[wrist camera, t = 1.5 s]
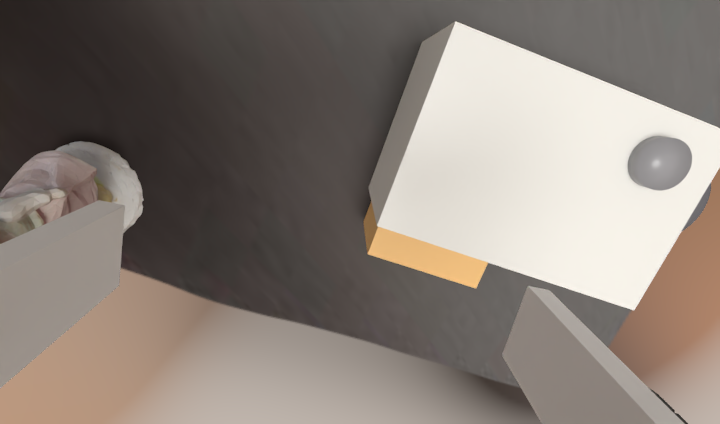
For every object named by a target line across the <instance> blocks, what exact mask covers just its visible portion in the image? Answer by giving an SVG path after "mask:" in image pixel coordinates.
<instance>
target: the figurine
mask: <svg viewBox="0 0 720 424" xmlns="http://www.w3.org/2000/svg"><path fill="white" fill-rule="evenodd" d="M98 200H101V201H106V202H111V203H116V204H121V205H125V211H124V225H123V233H124V232H125V231H126V230H127V229H128V228H129V227H130V226H132V225H133V224H134V223H135V222H136V220H137V218H138V217H140V216H141V214H142V210H143V206H142V201H144V199H143V195H142V188H141V184H140V181H139V180H138V177H137V175H136V172H135V171H134V170H132V169H131V168H130V167H129V164H128V162H127V161H126V160H125V159H123V158H121V157H120V155H119V154H118V153H115V152H114V151H112V150H110V149H108V148H106V147H104V146H101V145H98V144H95V143H91V142H83V141H78V142H72V143H69V145H68V144H67V145H63V146H61V147H59V148H57V149H56V150H55V151H46V152H42V153H39V154H37V155H35V156H33V157H32V158H31V159H30V160H29V161H28V162H26V163H25V164H24V165H23V166H22V167H21V168H20V169H19V171H18V172H17V173H16V174H15V175H14V176H13V177H12V179H11V180H10V181H9V182H8V184H7V185H6V186H5V187H4V189H3V190H2V192H1V193H0V244H2V243H4V242H6V241H9V240H11V239H13V238H15V237H18V236H20V235H22V234H24V233H27V232H29V231H31V230H33V229H36V228H38V227H40V226H42V225H44V224H47V223H49V222H51V221H53V220H56V219H58V218H60V217H62V216H65V215H67V214H69V213H71V212H74V211H76V210H78V209H80V208H83V207H85V206H87V205H89V204H92V203H94V202H96V201H98Z"/></svg>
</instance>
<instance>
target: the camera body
mask: <svg viewBox="0 0 720 424" xmlns="http://www.w3.org/2000/svg"><path fill="white" fill-rule="evenodd" d="M719 168H720V128H718V127H715V126H713V125H710V124H708V123H705V122H703V121H701V120H698V119H696V118H693V117H691V116H688V115H686V114H683V113H681V112H678V111H676V110H673V109H671V108H668V107H666V106H663V105H661V104H659V103H656V102H654V101H651V100H649V99H646V98H644V97H641V96H639V95H636V94H634V93H631V92H629V91H626V90H624V89H621V88H619V87H616V86H614V85H612V84H609V83H607V82H604V81H602V80H599V79H597V78H594V77H592V76H589V75H587V74H584V73H582V72H579V71H577V70H574V69H572V68H570V67H567V66H565V65H562V64H560V63H557V62H555V61H552V60H550V59H547V58H545V57H542V56H540V55H537V54H535V53H532V52H530V51H528V50H525V49H523V48H520V47H518V46H515V45H513V44H510V43H508V42H505V41H503V40H500V39H498V38H495V37H493V36H490V35H488V34H485V33H483V32H481V31H478V30H476V29H473V28H471V27H468V26H466V25H463V24H461V23H458V22H456V21H455V22H454V23H452V24H450V25H449V26H447V27H446V28H444V29H442V30H441V31H439V32H437V33H436V34H434V35H433V36H431V37H429V38H428V39H426V40H424V41H423V42H422V43H421V46H420V49H419V51H418V54H417V57H416V60H415V62H414V65H413V68H412V70H411V73H410V76H409V79H408V81H407V84H406V87H405V89H404V92H403V95H402V98H401V100H400V103H399V106H398V108H397V111H396V114H395V117H394V119H393V122H392V125H391V127H390V130H389V133H388V136H387V138H386V141H385V144H384V146H383V149H382V152H381V155H380V157H379V160H378V163H377V166H376V168H375V171H374V174H373V176H372V179H371V182H370V185H369V187H368V189H369V193H370V198H371V202H372V207H373V211H374V215H375V220H376V224H377V226H378V227H381V228H384V229H387V230H391V231H394V232H397V233H400V234H403V235H406V236H409V237H412V238H415V239H418V240H421V241H424V242H427V243H430V244H433V245H436V246H439V247H442V248H445V249H448V250H451V251H455V252H458V253H461V254H464V255H467V256H470V257H473V258H476V259H479V260H482V261H485V262H488V263H491V264H494V265H497V266H500V267H503V268H506V269H509V270H512V271H515V272H518V273H522V274H525V275H528V276H531V277H534V278H537V279H540V280H543V281H546V282H549V283H552V284H555V285H558V286H561V287H564V288H567V289H570V290H573V291H576V292H579V293H582V294H586V295H589V296H592V297H595V298H598V299H601V300H604V301H607V302H610V303H613V304H616V305H619V306H622V307H625V308H628V309H631V310H635V308H636V306H637V305H638V303H639V301H640V300H641V298H642V296H643V295H644V293H645V291H646V290H647V288H648V286H649V285H650V283H651V281H652V279H653V278H654V276H655V275H656V273H657V271H658V269H659V268H660V266H661V265H662V263H663V261H664V260H665V258H666V256H667V255H668V253H669V251H670V250H671V248H672V246H673V245H674V243H675V241H676V239H677V238H678V236H679V234H680V232H681V231H683V230H684V229H686V228H687V227H688V226H690V225H691V224H692V223H693V222H694V221H695V220H696V219H697V218H698V217H699V215H700V214H701V213H702V211H703V209H704V208H705V206H706V204H707V201H708V199H709V195H710V191H711V181H712V179H713V178H714V176H715V174H716V173H717V171H718V169H719Z"/></svg>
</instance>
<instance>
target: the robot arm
mask: <svg viewBox="0 0 720 424" xmlns="http://www.w3.org/2000/svg"><path fill="white" fill-rule="evenodd" d="M124 211H125V205H121V204H116V203H111V202H106V201H101V200H98V201H96V202H94V203H92V204H89V205H87V206H85V207H83V208H80V209H78V210H76V211H74V212H71V213H69V214H67V215H65V216H62V217H60V218H58V219H56V220H53V221H51V222H49V223H47V224H44V225H42V226H40V227H38V228H36V229H33V230H31V231H29V232H27V233H24V234H22V235H20V236H18V237H15V238H13V239H11V240H9V241H6V242H4V243H2V244H0V388H1V387H2V386H3V385H4V384H6V383H7V382H8V381H9V380H10V379H11V378H12V377H14V376H15V375H16V374H17V373H18V372H20V371H21V370H22V369H23V368H24V367H25V366H27V365H28V364H29V363H30V362H31V361H32V360H34V359H35V358H36V357H37V356H38V355H39V354H40V353H42V352H43V351H44V350H45V349H46V348H47V347H49V346H50V345H51V344H52V343H53V342H54V341H56V340H57V339H58V338H59V337H60V336H61V335H62V334H64V333H65V332H66V331H67V330H68V329H69V328H70V327H72V326H73V325H74V324H75V323H76V322H78V321H79V320H80V319H81V318H82V317H83V316H85V315H86V314H87V313H88V312H89V311H90V310H91V309H92V308H94V307H95V306H96V305H97V304H98V303H100V302H101V301H102V300H103V299H104V298H105V297H106V296H108V295H109V294H110V293H111V292H112V291H113V290H115V289H116V288H117V287H118V286H119V280H120V279H119V278H120V266H121V252H122V239H123V225H124ZM502 356H503V358H504V360H505V361H506V363H507V365H508V366H509V368H510V370H511V372H512V373H513V375H514V377H515V378H516V380H517V382H518V383H519V385H520V387H521V389H522V390H523V392H524V394H525V395H526V397H527V399H528V400H529V402H530V404H531V405H532V407H533V409H534V411H535V412H536V414H537V416H538V418H539V419H540V421H541V423H542V424H688V423H687V422H686V421H685V420H684V419H683V418H682V417H681V416H680V415H679V414H676V413H675V412H674V409H672V408H671V407H670V406H669V405H668V404H667V403H666V402H665V401H664V400H663V399H662V398H661V397H660V396H659V395H658V394H657V393H655V392H654V391H653V390H651V389H649V388H648V387H647V386H646V385H645V384H644V383H643V382H642V381H641V380H640V379H639V378H638V377H637V376H636V375H635V374H634V373H633V372H632V371H630V369H629V368H628V367H627V366H625V364H624V363H623V362H622V361H620V359H619V358H618V357H616V356H615V355H614V354H613V353H612V352H611V351H610V350H609V349H608V348H607V347H606V346H605V345H604V344H603V343H602V342H601V341H600V340H599V339H598V338H597V337H596V336H595V335H594V334H593V333H592V332H591V331H590V330H589V329H588V328H587V327H586V326H585V325H584V324H583V323H582V322H581V321H580V320H579V319H578V318H577V317H576V316H575V315H574V314H573V313H572V312H571V311H570V310H569V309H568V308H567V307H566V306H565V305H564V304H563V303H562V302H561V301H560V300H559V299H558V298H557V297H556V296H555V295H554V294H553V293H552V292H551V291H550V290H546V289H541V288H536V287H531V286H528V287H527V290H526V292H525V295H524V298H523V300H522V303H521V306H520V308H519V311H518V314H517V316H516V319H515V322H514V324H513V327H512V330H511V333H510V335H509V338H508V341H507V343H506V346H505V349H504V351H503V354H502Z"/></svg>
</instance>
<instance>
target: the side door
mask: <svg viewBox="0 0 720 424" xmlns="http://www.w3.org/2000/svg"><path fill="white" fill-rule="evenodd" d="M363 223H364V230H365V238H366V245H367V253H368V254H369V255H372V256H375V257H378V258H382V259H385V260H388V261H391V262H394V263H397V264H400V265H404V266H407V267H410V268H413V269H416V270H419V271H422V272H426V273H429V274H432V275H435V276H438V277H441V278H444V279H448V280H451V281H454V282H457V283H460V284H463V285H466V286H470V287H473V288H476V287H477V285H478V283H479V281H480V279H481V277H482V274H483V272H484V270H485V268H486V266H487V264H488V262H485V261H482V260H479V259H476V258H473V257H470V256H467V255H464V254H461V253H458V252H455V251H451V250H448V249H445V248H442V247H439V246H436V245H433V244H430V243H427V242H424V241H421V240H418V239H415V238H412V237H409V236H406V235H403V234H400V233H397V232H394V231H391V230H387V229H384V228H381V227H378V226H377V224H376V220H375V215H374V211H373V207H372V202H371V203H370V206H369V208H368V211H367V214H366V216H365V219H364V222H363Z"/></svg>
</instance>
